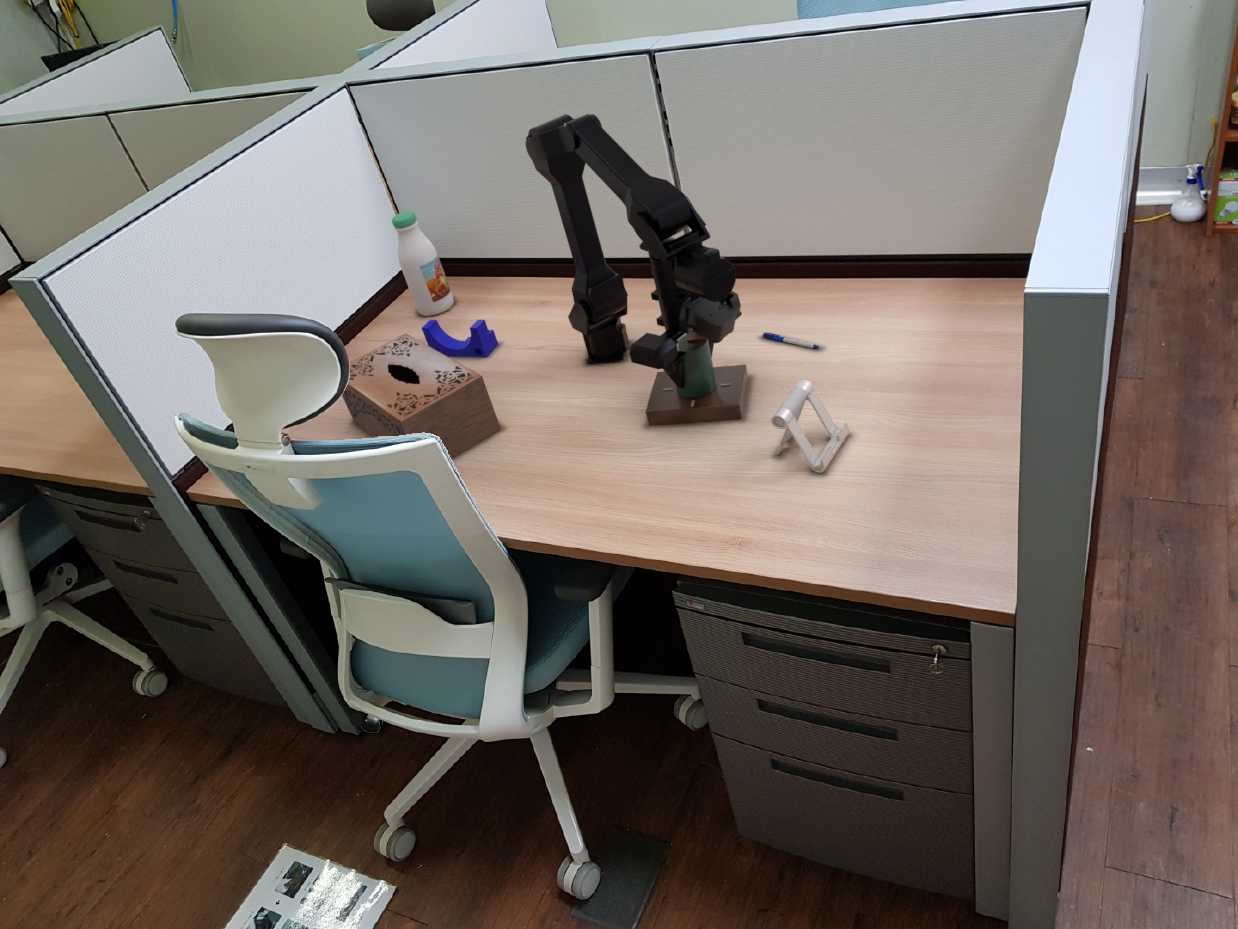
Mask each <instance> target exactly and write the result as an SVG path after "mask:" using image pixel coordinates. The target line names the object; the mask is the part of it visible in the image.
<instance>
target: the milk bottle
mask: <svg viewBox="0 0 1238 929" xmlns="http://www.w3.org/2000/svg"><path fill="white" fill-rule="evenodd" d="M391 223H392V226H393V227H394V230H395V231H396V232H397V240H398V242H397V243H398V245H397V257H398V262H399V265H400V268H401V272H402V274H403V276H404V279H405V283H406V285H407V287H408V290H409V292H410V295H411V298H412V300H413V303H414V306H415V308H416V311H417V313H419V315H421V316H425V317H430V316H431V317H432V316H435V315H439V314H442V313H445V312H446V311H448V310H449V309H451V307H453V305H454V301H455V300H454V296H453V293H452V290H451V287H450V285H449V282H448V278H447V275H446V274H445V271H444V268H443V265H442V263H441V260H440V257H439V254H438V252H437V250H436V248H435V246H434V245H433V243H432V241H430V239H429V238H428V237H427V236H426V234H424V233H423V232H422V231H421V229H420V227H419V226H418V223H419V222H418V220H417V216H416V213H415V212H414V211H411V210H410V211H403V212H399V213H398V214H395V215H394V216H392V218H391Z"/></svg>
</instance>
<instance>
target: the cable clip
mask: <svg viewBox="0 0 1238 929" xmlns="http://www.w3.org/2000/svg"><path fill="white" fill-rule="evenodd" d="M421 330H422V333H423V336H424V338H425V341H426V345H428V346H430V347H431V348H433V349H435V350H437V351H438V352H440V353H442V354H444V355H446V356H447V357H453V358H454V357H458V358H459V357H460V358H487V357H488V356H489V355H490V354H491V353H492V352H493V351H494V349H495V348H496V347H498V345H499V342H498V340H497V339H498V338H497V336H496V333H495V331H494V329H489V328H488V325H487V322H486V319H477V320H476V321H475V322H473V324H472V325H471V326H470V327H469V331H470V336H468V337H467V338H465V340H460V339H457V338H454V337H453V336H451V335H449V334H448V333H447V332H446V331H444V329H443V327H441V325H440V324H439V321H438V320H437V319H429V320H428V321H427V322H426V323H425V324H424V325H423V326H421Z"/></svg>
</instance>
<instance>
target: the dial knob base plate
mask: <svg viewBox="0 0 1238 929" xmlns="http://www.w3.org/2000/svg"><path fill="white" fill-rule="evenodd" d="M713 369H714V374H715V380H716V387H715V389H714V390H713V391H712V392H711V393H709V394H707V395H705V396H703V397H699V398H685V397H682V396H680V395H679V394H678V393H677V390H676V385H675V383H674V382H673V381H672V379H671V378H670V377H669V376H668V375H667V373H666V372H665V371H664V370H662V371H656V375H655V378H654V382H653V384H652V388H651V392H650V396H649V399H648V402H647V405H646V409H645V415H646V419H647V424H648V426H655V425H656V426H658V425H659V426H660V425H672V424H686V423H700V422H701V423H702V422H715V421H731V420H742V419H743V412H744V407H745V399H746V395H747V394H746V393H747V387H748V382H749V374H748V368H747V364H735V365H723V366H713Z"/></svg>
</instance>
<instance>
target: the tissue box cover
mask: <svg viewBox="0 0 1238 929" xmlns="http://www.w3.org/2000/svg"><path fill="white" fill-rule="evenodd" d="M349 363H350V378H349V382H348V385H347V387H346V389H345V391H344V393H343V395H341V397H342V399H343V401H344V403H345V406H346V408H347V410H348V412H349V414H350V416H351V418H352V421H353V422H354V424H357V425H358V426H359V427H361V428H362V429H363V430H364V431H365V432H367V433H368V434H369V435H370V436H372V437H373V438H375V437H378V436H399V435H406V434H412V433H422V432H425V433H431V434H434V435H436V436H439V437H440V439H441V440H442V443H443V444H444V446H445V447H446V449H447V450H448V454H449V455H450V457H451V458H452V459H454V458H455V457H457V456H459V455H460V454H462V453H463V452H466V451H467V450H468V449H470V448H472V447H474V446H475V445H477V444H479V443H480V442H482V441H484V440H485V439H487V438H489V437H491V436H492V435H493V434H495V433H497V432H498V431H500V430H502V429H501V425H500V422H499V419H498V417H497V415H496V414H497V413H496V410H495V408H494V406H493V403H492V400H491V397H490V393H489V391H488V388H487V386H486V383H485V380H484V378H483V375H481V374H480V373H478V372H476V371H475V370H472V369H471V368H470V367H469V368H468V367H467V366H465V365H464V364H462V363H460V362H458V361H457V360H454V359H453V358H451V357H450V356H446V355H444V354H442V353H440V352H438V351H437V350H435V349H433V348H431V347H430V346H428V344H427V343H424V342H422V341H421V340H419V339H417V338H415V337H413V336H411V335H410V334H408V333H406V332H405V333H403V334H401V335H399V336H397V337H395V338H393V339H392V340H389V341H388V342H385V343H384V344H381V345H380V346H378V347H376V348H374V349H373V350H370V351H368V352H367V353H364V354H363V355H361V356H359V357H356V359H354V360H352V361H349Z"/></svg>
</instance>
